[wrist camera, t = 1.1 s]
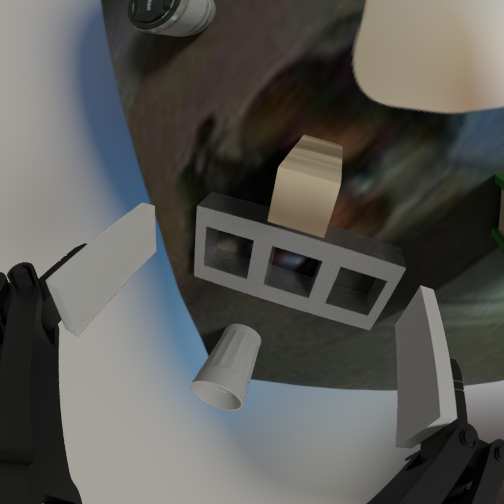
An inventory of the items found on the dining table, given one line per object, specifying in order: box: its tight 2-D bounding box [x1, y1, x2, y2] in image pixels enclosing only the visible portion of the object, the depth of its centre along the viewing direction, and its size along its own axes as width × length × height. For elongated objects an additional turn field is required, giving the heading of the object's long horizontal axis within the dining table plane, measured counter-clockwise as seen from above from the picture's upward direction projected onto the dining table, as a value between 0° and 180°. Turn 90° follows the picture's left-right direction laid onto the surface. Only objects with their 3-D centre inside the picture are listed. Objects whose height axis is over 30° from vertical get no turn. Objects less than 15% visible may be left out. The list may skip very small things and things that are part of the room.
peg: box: [268, 135, 343, 238], centre depth 23 cm, size 4×4×12 cm
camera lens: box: [128, 0, 216, 37], centre depth 19 cm, size 6×6×8 cm
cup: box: [190, 324, 261, 411], centre depth 42 cm, size 8×8×12 cm
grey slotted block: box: [194, 192, 406, 330], centre depth 33 cm, size 10×23×4 cm, turn 81°
